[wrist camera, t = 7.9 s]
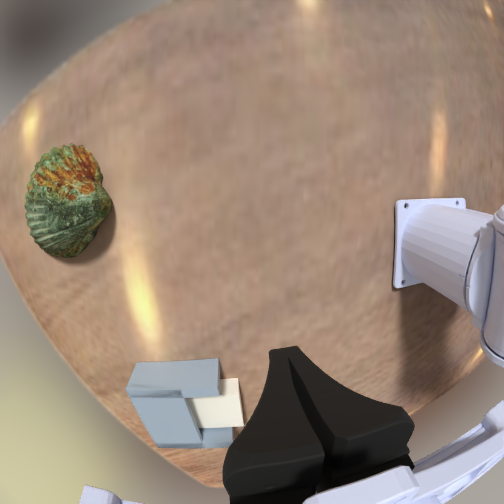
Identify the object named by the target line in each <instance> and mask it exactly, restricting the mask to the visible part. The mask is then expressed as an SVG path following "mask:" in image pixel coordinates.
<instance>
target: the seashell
mask: <svg viewBox="0 0 504 504" xmlns="http://www.w3.org/2000/svg"><path fill="white" fill-rule="evenodd" d="M101 180H102V174H101V172H100V168H99V165H98V163H97V161H96V160H95V157H94V156H93V154H92V153H91V152H90V151H89V150H88V149H87V148H85V147H84V146H83V145H81V146H78V147H77V146H75V145H74V144H72V143H71V144H70V145H69V146H68V147H67V146H65V145H63V146H62V148H61V149H58V148H56V147H53V148H52V149H51V150H50V152H49V153H47V154H43V155H42V157H41V160H40V162H37V163H36V165H35V170H34V171H33V172H32V173H31V181H30V182H29V183H28V184H27V188H28V192H27V193H26V197H25V198H26V202H25V209H26V210H27V213H26V218H27V219H28V220H27V225H28V226H29V227H30V228H31V230H30V235H31V236H32V237H35V240H34V242H35V243H37V244H39V245H40V248H41V249H44V250H45V252H47V253H50V254H51V255H52V256H56V257H59V256H62V257H65V258H68V257H76V256H77V255H79V254H80V253H81V252H82V251H83V250H84V249H85V248H86V246H87V245H88V244H89V242H90V241H92V240H93V239H94V237H95V236H96V233H97V229H98V225H99V224H100V223H101V222H102V221H103V220H104V219H105V217H106V216H107V215H108V213H109V212H110V210H111V207H112V201H111V199H110V197H109V195H108V194H107V192H106V191H105V189H104V188H103V187H102V185H101Z"/></svg>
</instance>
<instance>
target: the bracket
mask: <svg viewBox="0 0 504 504" xmlns="http://www.w3.org/2000/svg"><path fill="white" fill-rule="evenodd" d="M126 391H127V393H128V395H129V397H130V399H131V401H132V403H133V405H134V407H135V409H136V411H137V413H138V414H139V416H140V418H141V420H142V422H143V423H144V425H145V427H146V429H147V430H148V432H149V434H150V435H151V437H152V439H153V440H154V442H155V444H156V445H157V447H158V448H224V447H229V446H230V445H231V444H232V442H233V441H234V435H233V427H221V428H198V426H197V424H196V421H195V419H194V416H193V414H192V411H191V408H190V406H189V403H188V400H187V398H193V397H212V396H220V363H219V359H218V358H215V359H203V360H189V361H171V362H137V364H136V366H135V368H134V370H133V373H132V375H131V377H130V380H129V382H128V385H127V387H126Z"/></svg>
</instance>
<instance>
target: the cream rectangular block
mask: <svg viewBox="0 0 504 504" xmlns="http://www.w3.org/2000/svg"><path fill="white" fill-rule="evenodd" d="M187 400H188V403H189V406H190V408H191V411H192V414H193V416H194V419H195V421H196V424H197V426H198V428H221V427H239V426H244V422H243V410H242V403H241V396H240V389H239V382H238V378H233V379H220V396H212V397H193V398H187Z"/></svg>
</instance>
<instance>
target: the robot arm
mask: <svg viewBox="0 0 504 504" xmlns="http://www.w3.org/2000/svg"><path fill="white" fill-rule="evenodd" d="M405 203H406V208H404V204H405ZM465 208H466V203H465V199H464V198H436V199H411V200H398V201H397V202H396V205H395V214H396V228H395V260H394V276H393V286H394V287H396V288H402V287H406V286H411V285H415V284H419V283H425V284H426V285H428V286H430V287H431V288H433V289H434V290H436V291H438V292H439V293H441V294H442V295H444V296H445V297H447V298H448V299H450V300H452V301H453V302H455V303H456V304H458V305H459V306H461V307H462V308H464V309H465V310H467V311H468V312H470V313H471V315H472V324H473V325H474V326H475V327H477V328H478V329H479V330H481V333H480V345H481V348H482V350H483V352H484V354H485V355H486V356H487V357H488V358H489V359H490V360H491V361H492V362H493V363H495V364H496V365H498V366H500V367H502V368H504V205H503V206H502V207H501V208H500V209H499V210H498V211H497V212H495V214H494V215H491V214H487V213H483V212H478V211H474V210H470V209H465ZM402 280H403V283H401V282H402ZM269 360H270V363H269V370H268V375H267V380H266V383H265V387H264V390H263V393H262V395H261V398H260V400H259V403H258V405H257V407H256V409H255V411H254V413H253V415H252V416H251V418H250V420H249V421H248V423H247V424H246V426H245V427H244V429H243V430H242V432H241V433H240V434H239V435H238V437H237V438H236V439H235V440H234V441H233V442H232V444H231V445H230V446H229V449H228V451H227V454H226V457H225V460H224V465H223V484H224V486H225V488H226V490H227V492H228V494H229V496H230V504H444V503H445V502H447V501H449V500H450V499H451V498H453V497H454V496H456V495H457V494H459V493H460V492H461V491H463V490H464V489H465V488H467V487H468V486H469V485H471V484H472V483H473V482H474V481H476V480H477V479H478V478H480V477H481V476H482V475H483V474H485V473H486V472H487V471H488V470H489V469H490V468H492V467H493V466H494V465H495V464H496V463H497V462H498V461H500V460H501V459H502V458H503V457H504V401H503V400H502V401H500V402H499V403H498V404H497V405H495V406H494V407H493V408H491V409H490V410H489V411H488V412H487V413H486V415H485V416H484V418H483V419H482V422H481V423H480V424H478V425H477V426H476V427H474V428H473V429H471V430H470V431H469V432H467V433H465V434H464V435H462V436H461V437H459V438H458V439H456V440H454V441H453V442H451V443H449V444H448V445H446V446H444V447H443V448H441V449H439V450H437V451H435V452H434V453H432V454H430V455H428V456H426V457H424V458H422V459H420V460H418V461H416V462H414V463H413V462H412V461H411V459H410V457H409V455H408V454H409V452H410V451H409V448H408V447H407V443H408V441H409V439H410V437H411V435H412V433H413V430H414V427H415V426H414V422H413V421H412V419H411V418H410V416H409V415H408V414H407V412H406V411H405V410H404V409H403V408H402V407H400V406H395V405H391V404H387V403H383V402H379V401H376V400H373V399H370V398H368V397H365V396H363V395H361V394H358V393H356V392H354V391H352V390H350V389H348V388H346V387H345V386H343V385H341V384H340V383H338V382H337V381H335V380H334V379H332V378H331V377H330V376H328V375H327V374H326V373H325V372H323V371H322V370H321V369H320V368H319V367H318V366H316V365H315V364H314V363H313V362H312V361H311V360H310V359H309V358H308V357H307V356H306V355H305V354H304V353H303V352H302V351H301V350H300V348H299V347H297V346H292V347H286V348H280V349H273V350H270V351H269ZM316 492H317V494H316ZM79 504H143V503H137V502H131V501H126V500H121V499H120V498H119V497H118V496H117V495H116V494H114V493H112V492H110V491H108V490H104V489H100V488H96V487H93V486H89V485H85V487H84V489H83V493H82V496H81V499H80V502H79Z"/></svg>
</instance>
